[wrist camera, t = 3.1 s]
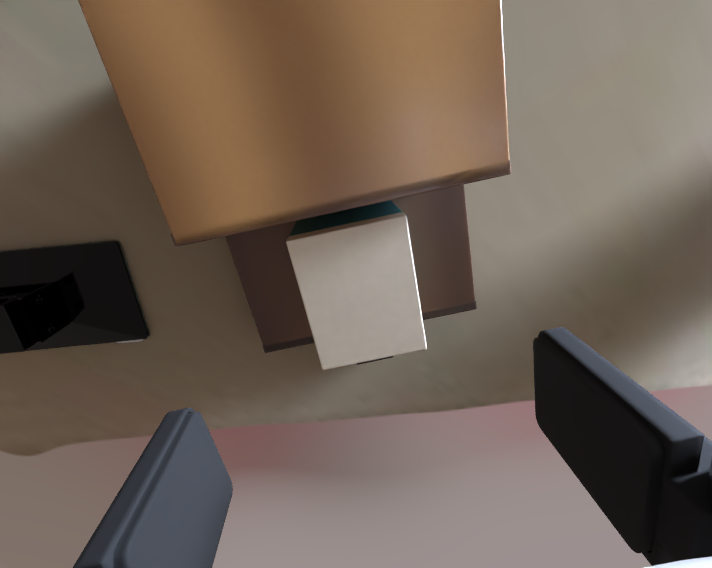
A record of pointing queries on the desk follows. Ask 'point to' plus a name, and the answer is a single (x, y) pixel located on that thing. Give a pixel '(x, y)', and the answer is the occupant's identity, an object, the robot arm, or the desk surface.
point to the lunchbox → (358, 284)
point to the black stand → (67, 297)
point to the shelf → (312, 127)
